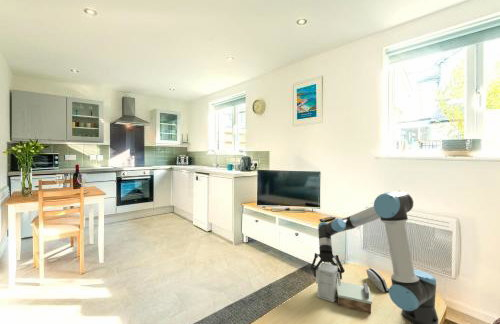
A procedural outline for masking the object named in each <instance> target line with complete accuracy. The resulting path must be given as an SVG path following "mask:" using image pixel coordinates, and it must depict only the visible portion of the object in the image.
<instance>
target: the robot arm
mask: <svg viewBox="0 0 500 324" xmlns="http://www.w3.org/2000/svg"><path fill="white" fill-rule="evenodd" d="M413 207H414V199H413V197H412V196H411V195H410V194H409V193H408V192H405V191H401V190H397V191H390V192H384V193H380V194H378V195H377V196H376V198H375V199H374V202H373V206H370V207H369V208H365V209H364V210H360V211H359V212H356V213H354V214H351V215H350V216H347V217H343V218H339V217H337V218H335V219H332V220H331V221H330V222H325V221H322V222H319V223H318V227H317V230H318V231H317V232H318V245H319V248H318V249H319V253H316V252H315V253H314V258H313V261H312V263H311V266H310V271H313V277H314V278H315V283H316V285H318V268H319V267H320V265H321V264H322V263H327V264H330V265H334V266H338V284H339V286H340V285H341V282H342V281H341V280H342V279H343V275H342V274H344V273H345V269H344V267H343V264H342V262H341V261H340V258H339V255H337V254H336V255H334V254H333V247H332V246H333V245H332V236H334V235H336V234H338V233H342V232H345V231H349V230H354V229H356V228H357V227H361V226H363V225H366V224H369V223H371V222H374V221H377V220H379V219H380V221H381V222H382V223H384V226H385V233H386V238H387V244H388V248H389V254H390V260H391V265H392V270H393V273H392V274H391V276H390V278H391V279H390V280H391V285H390V287H388V288H389V291H388V295H389V298H390V300H391V301H392V303H393V304H395V306H397V308H399V309H400V310H401V313H402V315H403V317H404V318H405V319H407V320H408V321H409V322H410V323H412V324H439V316H438V313H437V311H436V308H435V307H436V306H435V305H436V293H437V291H436V290H437V279H436V277H435V276H433V275H432V274H430V273H428V272H425V271H423V270H419V269H414V264H413V259H412V254H411V249H410V243H409V238H408V234H407V228H406V222H407V221H408V214H407V213H409V212H410V211H412V210H413ZM318 258H319V261H318V263H317V264H316V265H315V263H316V261H317V259H318ZM334 260H336V261H334Z"/></svg>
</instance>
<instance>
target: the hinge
mask: <svg viewBox="0 0 500 324" xmlns="http://www.w3.org/2000/svg"><path fill="white" fill-rule="evenodd" d="M365 270H366V275H367V279H369V280H370V281H371V283H373V284H374V285H375V286H376V287H377V288H378V289H379V290H380V291H381V292H382V293H385V292H389V288H390V287H388V286H387V283H386V281H385V280H386V279H385V278H384V277H383V276H382V275H381V274H380V272H379V271H378V270H376V269H375V268H373V267H369V268H367V269H365Z"/></svg>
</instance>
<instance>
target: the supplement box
mask: <svg viewBox="0 0 500 324" xmlns="http://www.w3.org/2000/svg"><path fill="white" fill-rule="evenodd" d="M338 267H339V265H337V266H334V265H332V264H331V263H327V262H322V263H321V264H320V266H319V267H318V268H317V274H318V284H317V298H319V299H321V300H324V301H325V300H326V301H328V302H331V303H335V300H336V299H337V297H338Z"/></svg>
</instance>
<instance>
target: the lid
mask: <svg viewBox="0 0 500 324" xmlns="http://www.w3.org/2000/svg"><path fill="white" fill-rule="evenodd" d="M338 297H340V298H345V299H350V300H355V301H359V302H364V303H369V304H371V305H372V304H373V300H372V296H371V291H370V287H369V286H368V283H366V282H364V283H363V285H361V284H356V283H349V282H344V281H341V285H340V286H339V284H338V288H337V298H338Z"/></svg>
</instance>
